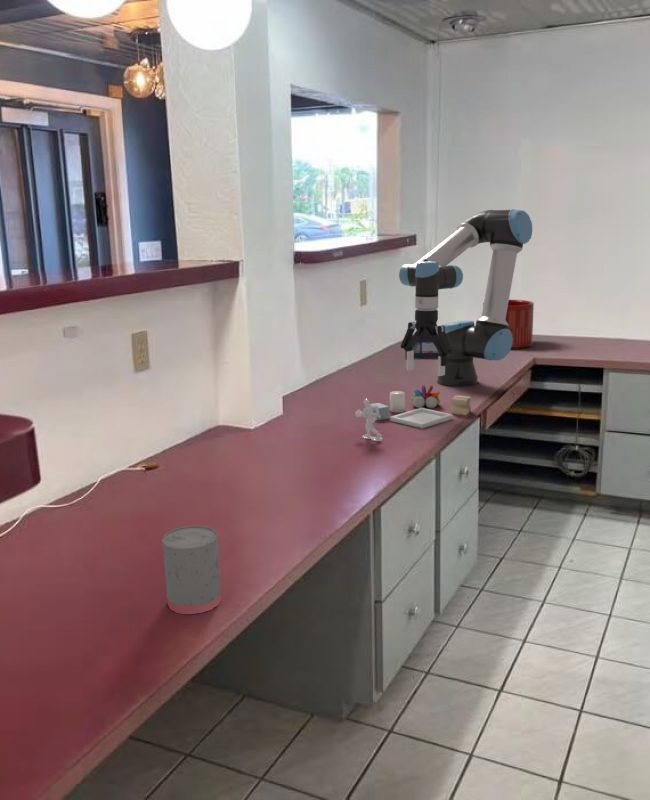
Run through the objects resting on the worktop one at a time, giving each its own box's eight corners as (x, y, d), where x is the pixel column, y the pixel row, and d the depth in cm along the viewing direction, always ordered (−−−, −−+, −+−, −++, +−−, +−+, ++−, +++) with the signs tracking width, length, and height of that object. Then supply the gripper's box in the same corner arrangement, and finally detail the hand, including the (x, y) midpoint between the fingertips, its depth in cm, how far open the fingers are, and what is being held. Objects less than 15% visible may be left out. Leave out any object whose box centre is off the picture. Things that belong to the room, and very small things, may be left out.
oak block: (455, 410, 259) (456, 395, 258) (470, 411, 257) (470, 396, 256) (451, 413, 255) (451, 398, 254) (466, 415, 253) (466, 400, 251)
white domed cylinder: (396, 407, 264) (396, 390, 262) (408, 410, 260) (408, 392, 259) (386, 410, 260) (386, 393, 259) (397, 413, 257) (397, 395, 255)
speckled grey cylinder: (193, 583, 145) (189, 521, 142) (233, 597, 140) (229, 533, 137) (155, 605, 137) (150, 540, 134) (195, 620, 132) (190, 553, 129)
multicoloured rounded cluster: (439, 409, 260) (439, 388, 259) (410, 408, 262) (410, 387, 261) (440, 403, 268) (441, 382, 267) (412, 402, 270) (412, 382, 269)
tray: (421, 411, 258) (421, 407, 257) (452, 418, 249) (452, 414, 248) (390, 420, 248) (390, 416, 248) (421, 428, 239) (422, 424, 238)
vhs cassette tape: (409, 358, 346) (409, 335, 344) (409, 356, 349) (409, 334, 346) (451, 358, 344) (451, 335, 341) (451, 356, 347) (451, 334, 344)
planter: (475, 342, 379) (476, 300, 374) (521, 340, 382) (523, 298, 377) (490, 350, 357) (492, 306, 352) (539, 348, 359) (541, 304, 354)
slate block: (378, 414, 256) (378, 402, 256) (389, 418, 251) (389, 406, 250) (368, 416, 255) (368, 404, 254) (378, 420, 250) (378, 408, 249)
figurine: (379, 442, 226) (378, 402, 223) (351, 438, 231) (350, 399, 228) (386, 438, 230) (386, 398, 227) (359, 434, 235) (358, 395, 232)
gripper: (390, 307, 264) (390, 369, 269) (449, 313, 246) (447, 379, 251) (405, 305, 269) (404, 366, 274) (464, 311, 251) (462, 376, 256)
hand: (425, 372), depth 262 cm, fingers open, 13 cm apart
